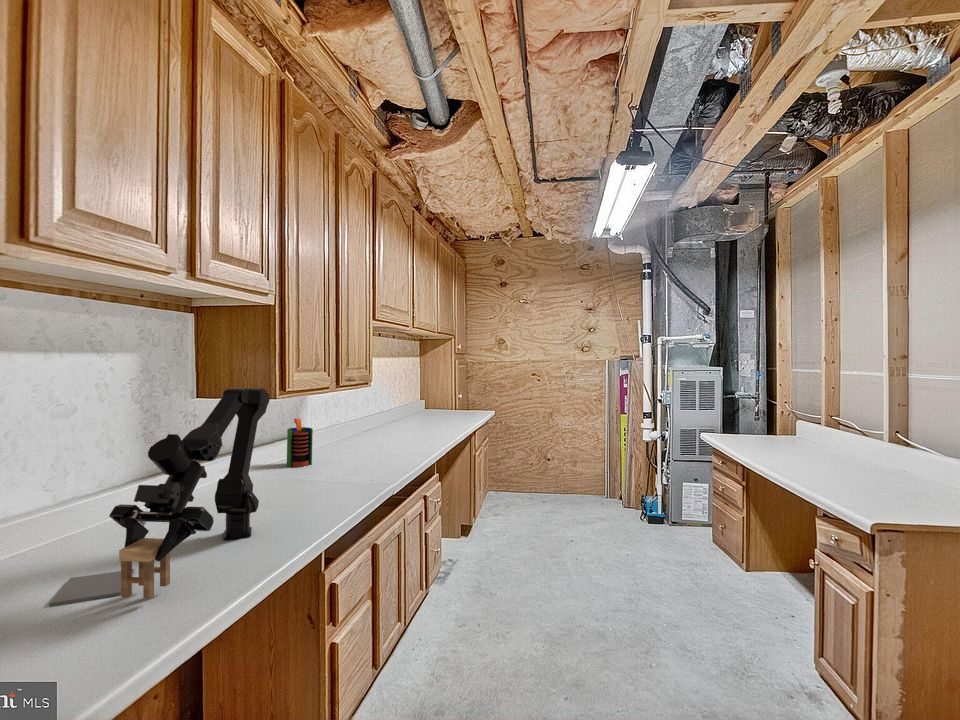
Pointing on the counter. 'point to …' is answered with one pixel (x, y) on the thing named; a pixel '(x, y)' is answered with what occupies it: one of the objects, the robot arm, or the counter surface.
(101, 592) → the mat
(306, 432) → the motor
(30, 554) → the counter surface
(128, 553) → the stool
